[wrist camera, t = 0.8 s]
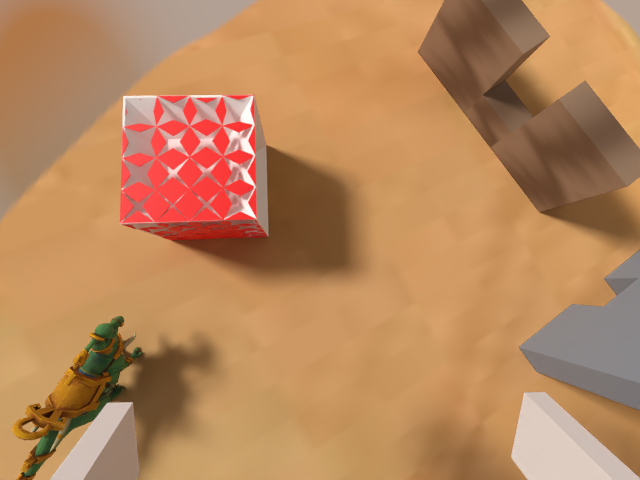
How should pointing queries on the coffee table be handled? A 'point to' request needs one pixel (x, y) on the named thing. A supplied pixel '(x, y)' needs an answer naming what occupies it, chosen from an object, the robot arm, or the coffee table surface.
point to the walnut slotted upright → (514, 118)
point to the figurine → (76, 394)
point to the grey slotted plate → (596, 342)
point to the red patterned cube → (194, 167)
